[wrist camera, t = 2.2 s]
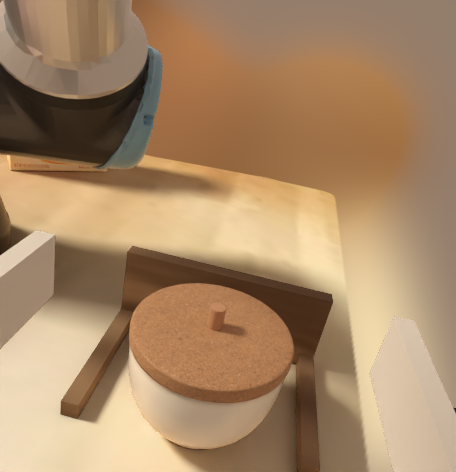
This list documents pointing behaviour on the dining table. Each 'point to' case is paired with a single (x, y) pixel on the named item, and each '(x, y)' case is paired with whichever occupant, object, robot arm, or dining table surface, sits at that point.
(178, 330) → the lidded jar
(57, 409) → the dining table surface
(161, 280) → the shelf lane
